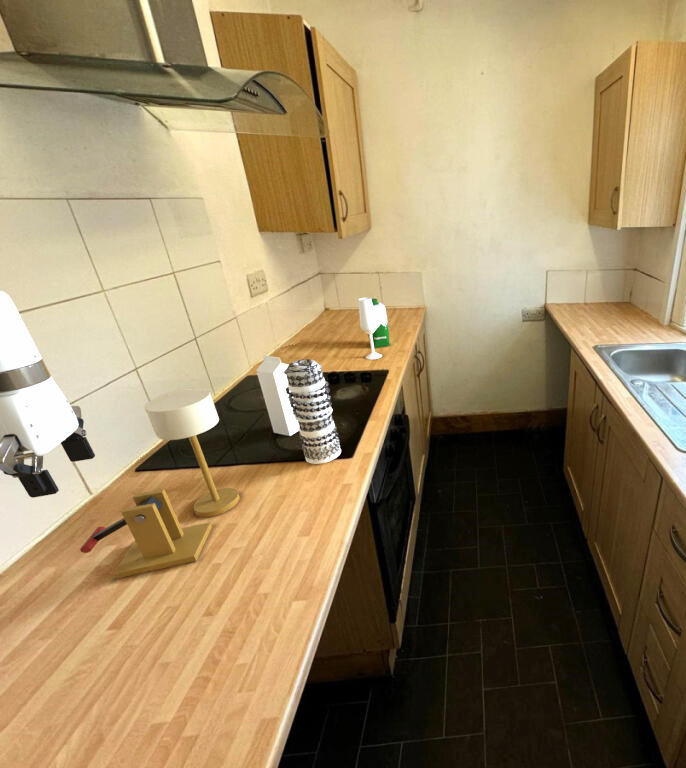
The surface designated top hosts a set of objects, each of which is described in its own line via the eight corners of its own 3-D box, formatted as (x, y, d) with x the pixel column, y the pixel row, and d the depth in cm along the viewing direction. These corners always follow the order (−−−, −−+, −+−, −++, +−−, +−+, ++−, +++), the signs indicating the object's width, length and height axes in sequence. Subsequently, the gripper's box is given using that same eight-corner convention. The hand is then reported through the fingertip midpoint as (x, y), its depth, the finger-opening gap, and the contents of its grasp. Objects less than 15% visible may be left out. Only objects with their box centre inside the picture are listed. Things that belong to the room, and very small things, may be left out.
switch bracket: (115, 579, 71) (85, 525, 66) (139, 541, 79) (114, 491, 74) (196, 561, 75) (174, 509, 70) (212, 526, 82) (193, 478, 78)
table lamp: (181, 525, 83) (133, 415, 73) (198, 494, 92) (158, 392, 81) (238, 514, 86) (200, 406, 76) (249, 485, 94) (216, 385, 84)
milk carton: (387, 340, 192) (381, 297, 183) (392, 346, 184) (386, 301, 176) (367, 343, 188) (360, 299, 180) (372, 349, 180) (365, 303, 172)
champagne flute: (367, 360, 168) (357, 301, 158) (364, 355, 173) (354, 298, 164) (383, 357, 171) (375, 299, 161) (380, 352, 176) (371, 296, 167)
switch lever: (87, 556, 70) (74, 548, 69) (103, 535, 75) (91, 527, 73) (154, 517, 71) (142, 509, 70) (166, 499, 76) (155, 491, 74)
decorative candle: (335, 464, 101) (313, 369, 91) (297, 465, 101) (271, 370, 91) (348, 444, 110) (329, 355, 100) (312, 445, 110) (291, 356, 100)
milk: (290, 436, 114) (269, 361, 105) (273, 432, 116) (252, 359, 107) (307, 425, 119) (289, 353, 110) (290, 422, 121) (271, 351, 112)
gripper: (20, 361, 66) (69, 452, 73) (-81, 408, 51) (-7, 517, 58) (79, 355, 68) (121, 444, 75) (-2, 398, 53) (60, 505, 60)
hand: (65, 475), depth 66 cm, fingers open, 9 cm apart
